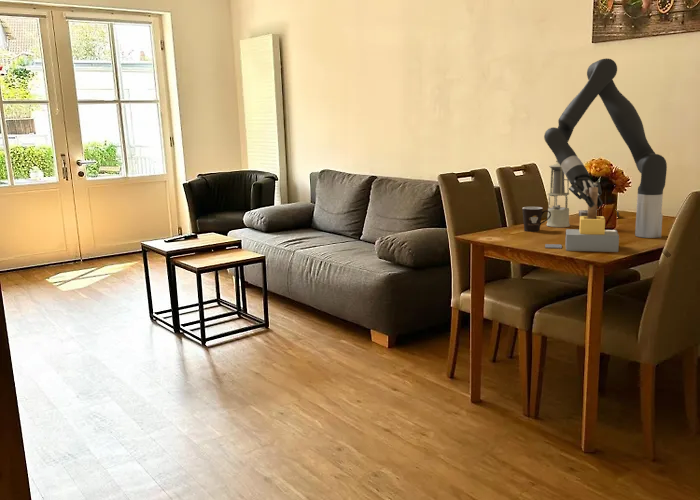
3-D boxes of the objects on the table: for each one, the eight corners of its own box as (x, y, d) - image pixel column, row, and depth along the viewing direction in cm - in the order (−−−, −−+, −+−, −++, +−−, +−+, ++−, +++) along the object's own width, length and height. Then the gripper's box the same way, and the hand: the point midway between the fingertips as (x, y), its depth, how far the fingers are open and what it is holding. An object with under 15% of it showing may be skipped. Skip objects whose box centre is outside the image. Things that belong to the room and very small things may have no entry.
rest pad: (561, 245, 246) (561, 244, 246) (561, 248, 241) (561, 247, 241) (545, 245, 248) (545, 244, 248) (545, 248, 242) (545, 247, 242)
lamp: (543, 226, 289) (544, 160, 284) (552, 222, 300) (554, 158, 294) (566, 228, 284) (568, 160, 278) (574, 223, 294) (577, 158, 288)
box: (619, 218, 305) (619, 211, 304) (580, 218, 309) (580, 212, 308) (615, 215, 315) (615, 209, 314) (578, 216, 319) (578, 209, 318)
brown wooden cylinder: (596, 218, 239) (597, 187, 236) (596, 220, 236) (598, 187, 233) (587, 218, 240) (588, 186, 237) (587, 220, 237) (589, 187, 234)
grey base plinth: (615, 245, 243) (616, 215, 241) (618, 251, 232) (619, 220, 229) (565, 244, 248) (566, 215, 246) (566, 250, 237) (567, 219, 235)
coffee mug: (519, 231, 279) (520, 208, 277) (524, 228, 286) (524, 206, 284) (547, 233, 273) (547, 209, 271) (550, 229, 281) (551, 207, 279)
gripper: (565, 164, 238) (587, 200, 229) (594, 162, 243) (617, 197, 234) (555, 178, 244) (576, 213, 235) (583, 175, 249) (605, 210, 240)
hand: (596, 205), depth 235 cm, fingers closed on brown wooden cylinder, 3 cm apart
